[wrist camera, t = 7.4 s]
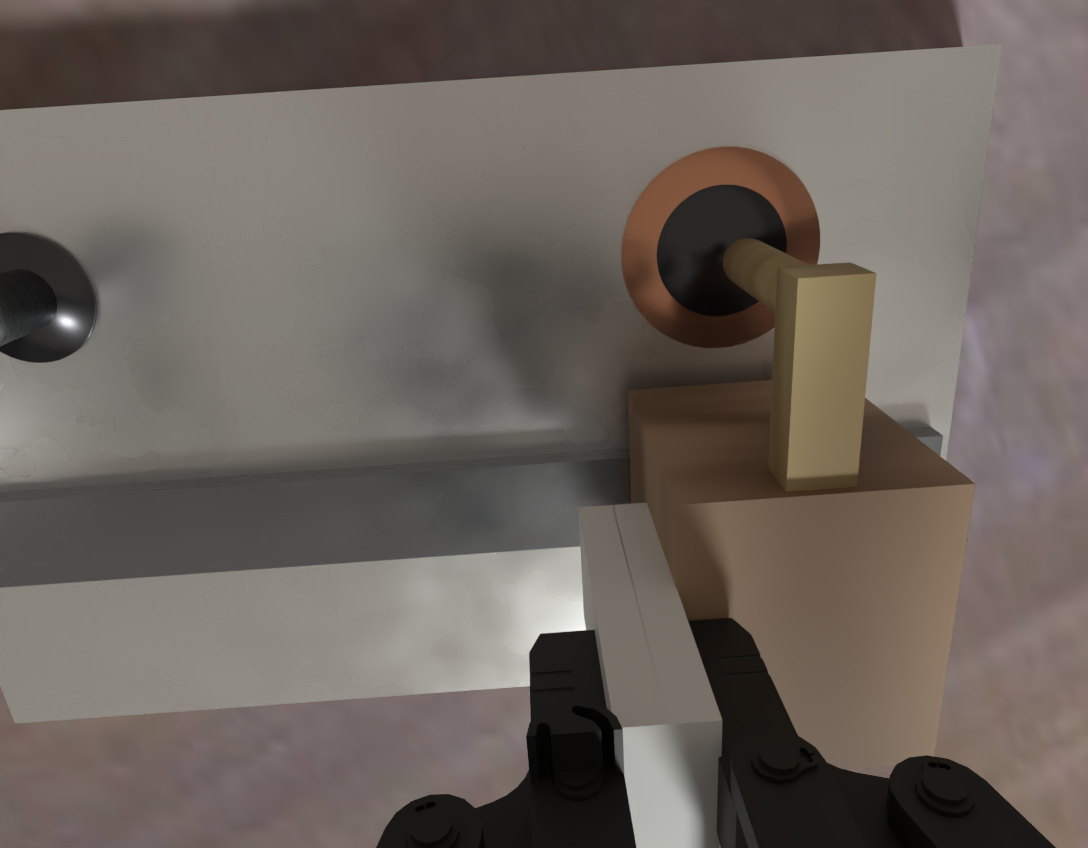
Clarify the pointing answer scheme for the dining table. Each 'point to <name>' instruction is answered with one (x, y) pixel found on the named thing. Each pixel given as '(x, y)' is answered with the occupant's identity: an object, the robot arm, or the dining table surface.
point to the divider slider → (812, 517)
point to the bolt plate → (415, 350)
